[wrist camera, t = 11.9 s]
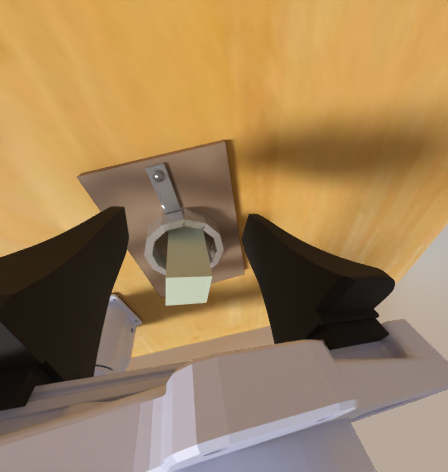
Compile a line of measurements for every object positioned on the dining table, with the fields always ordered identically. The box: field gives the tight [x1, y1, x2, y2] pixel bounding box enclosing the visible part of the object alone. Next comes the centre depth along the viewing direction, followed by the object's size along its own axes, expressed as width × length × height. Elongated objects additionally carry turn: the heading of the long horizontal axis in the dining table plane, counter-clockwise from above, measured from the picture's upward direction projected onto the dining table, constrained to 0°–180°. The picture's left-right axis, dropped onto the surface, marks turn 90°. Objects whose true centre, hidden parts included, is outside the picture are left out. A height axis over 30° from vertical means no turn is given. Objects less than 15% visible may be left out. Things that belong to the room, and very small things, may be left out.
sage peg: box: [166, 226, 212, 306], centre depth 20 cm, size 4×4×8 cm
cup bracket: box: [77, 140, 245, 297], centre depth 23 cm, size 20×14×4 cm
